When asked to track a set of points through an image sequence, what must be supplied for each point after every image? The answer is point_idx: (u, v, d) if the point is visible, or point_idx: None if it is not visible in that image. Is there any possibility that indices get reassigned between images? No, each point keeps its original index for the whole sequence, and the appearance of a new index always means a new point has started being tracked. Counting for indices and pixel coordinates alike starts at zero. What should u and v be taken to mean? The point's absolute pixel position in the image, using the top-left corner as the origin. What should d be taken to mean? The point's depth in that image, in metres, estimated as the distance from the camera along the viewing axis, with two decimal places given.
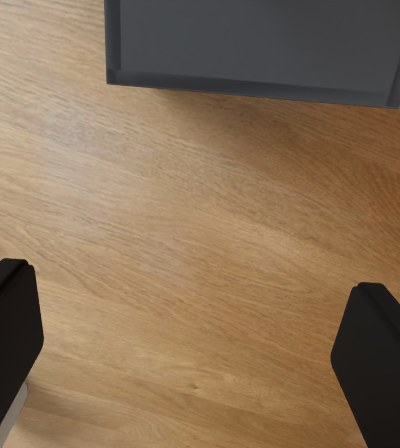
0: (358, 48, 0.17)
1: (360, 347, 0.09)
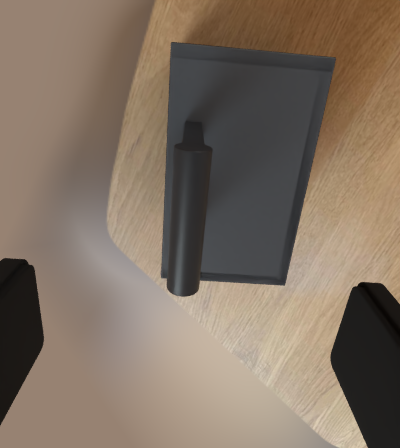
0: (280, 108, 0.20)
1: (360, 347, 0.09)
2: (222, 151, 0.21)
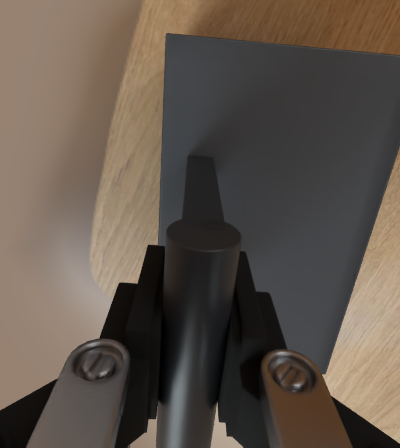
0: (334, 136, 0.13)
1: None
2: (243, 198, 0.14)
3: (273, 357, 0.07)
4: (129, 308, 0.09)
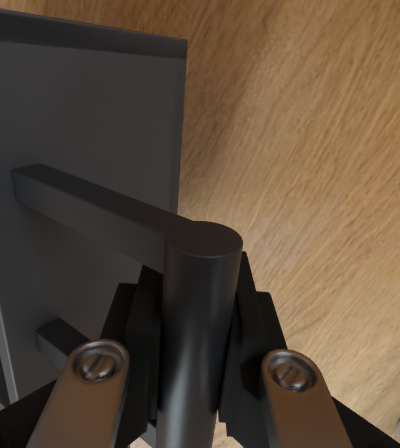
0: (143, 115, 0.14)
1: None
2: None
3: (273, 357, 0.07)
4: (128, 308, 0.09)
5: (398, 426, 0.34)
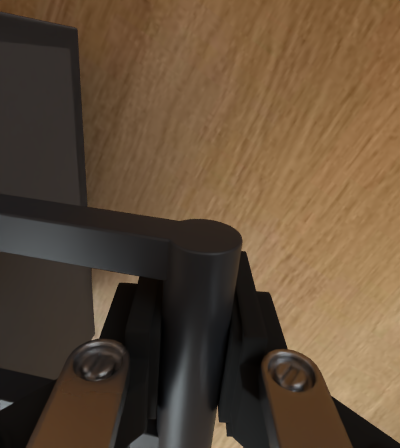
0: (46, 114, 0.12)
1: None
2: None
3: (273, 357, 0.07)
4: (128, 308, 0.09)
5: None
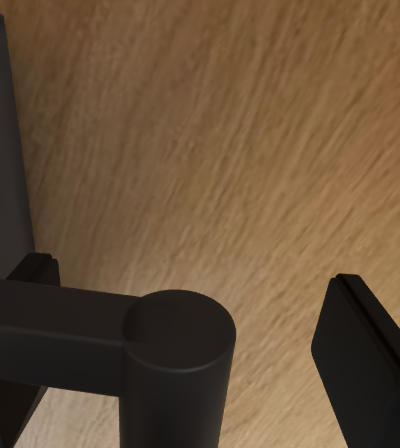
0: None
1: (336, 336, 0.10)
2: None
3: None
4: None
5: None
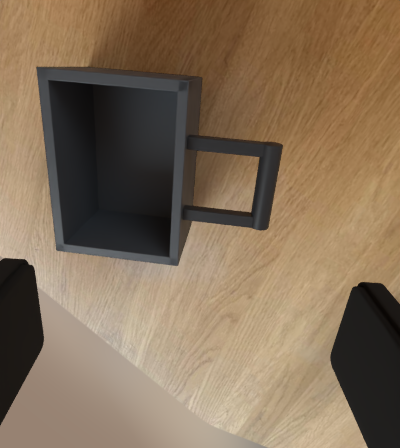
0: (196, 112, 0.31)
1: (360, 347, 0.09)
2: (190, 150, 0.29)
3: None
4: None
5: None
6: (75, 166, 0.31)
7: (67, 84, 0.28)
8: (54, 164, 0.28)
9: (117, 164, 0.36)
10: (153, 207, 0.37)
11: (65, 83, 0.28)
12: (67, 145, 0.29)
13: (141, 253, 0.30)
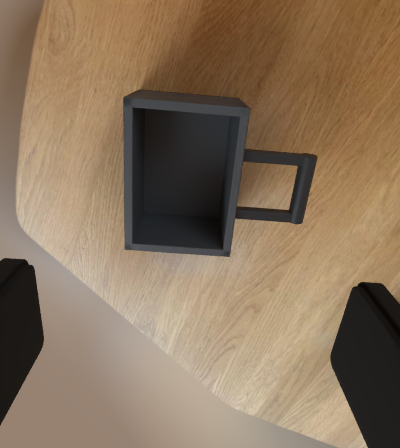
0: None
1: (360, 347, 0.09)
2: None
3: None
4: None
5: None
6: (137, 176, 0.36)
7: (137, 108, 0.33)
8: (130, 176, 0.33)
9: (162, 172, 0.41)
10: (192, 208, 0.43)
11: (137, 107, 0.33)
12: (136, 159, 0.34)
13: (199, 248, 0.36)
